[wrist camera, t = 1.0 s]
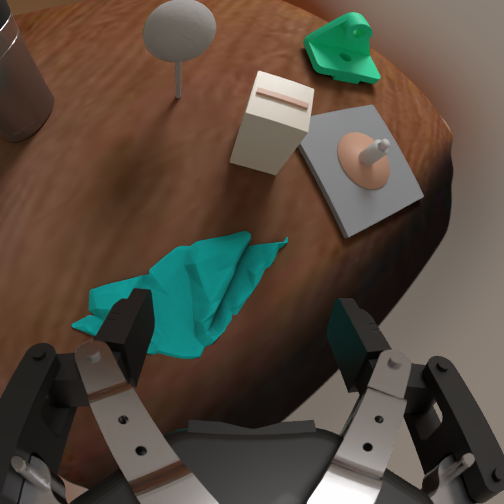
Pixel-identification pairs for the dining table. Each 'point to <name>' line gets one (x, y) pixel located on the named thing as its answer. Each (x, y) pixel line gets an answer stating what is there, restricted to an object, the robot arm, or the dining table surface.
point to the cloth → (191, 292)
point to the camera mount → (343, 50)
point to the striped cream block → (272, 123)
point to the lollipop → (179, 33)
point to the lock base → (358, 167)
